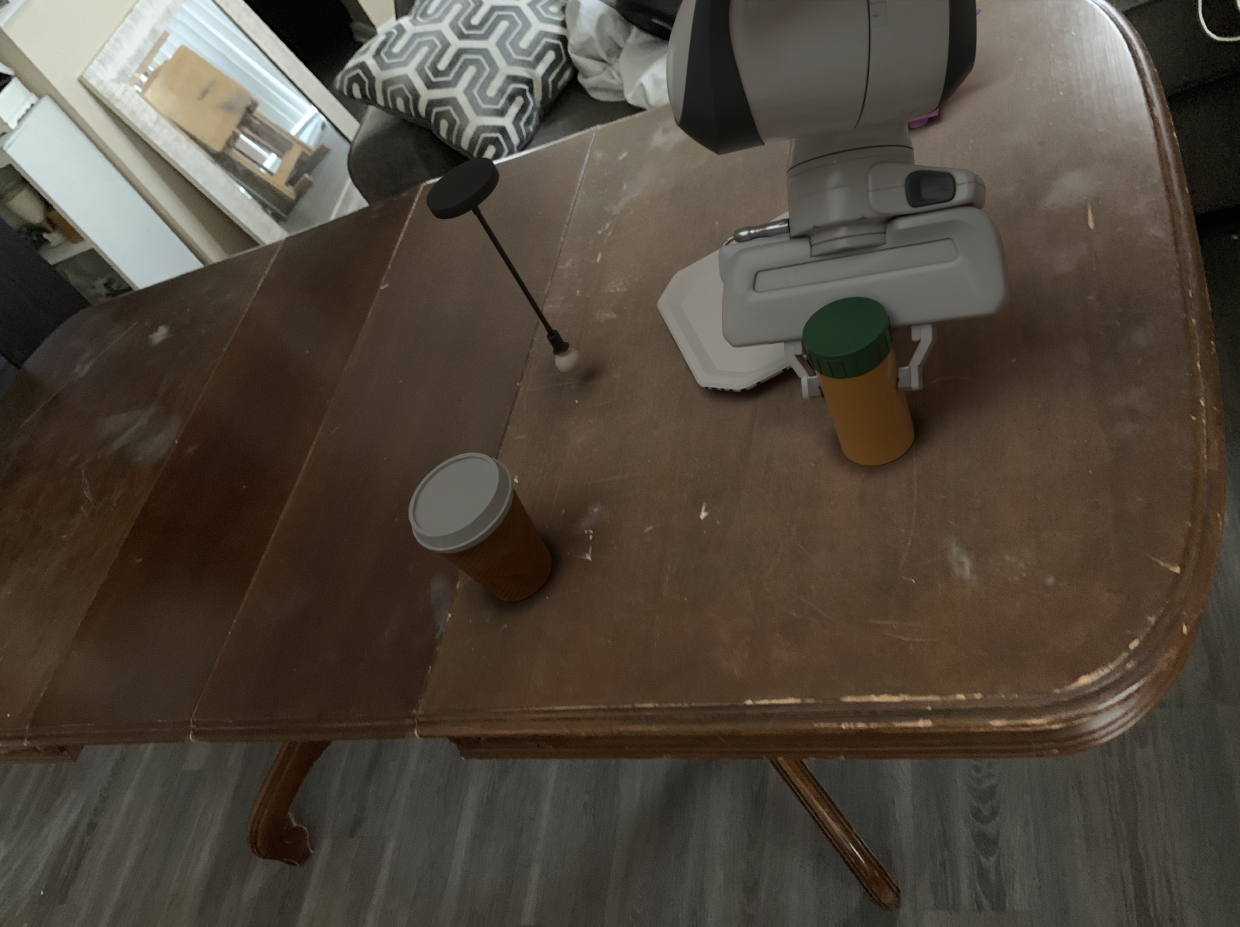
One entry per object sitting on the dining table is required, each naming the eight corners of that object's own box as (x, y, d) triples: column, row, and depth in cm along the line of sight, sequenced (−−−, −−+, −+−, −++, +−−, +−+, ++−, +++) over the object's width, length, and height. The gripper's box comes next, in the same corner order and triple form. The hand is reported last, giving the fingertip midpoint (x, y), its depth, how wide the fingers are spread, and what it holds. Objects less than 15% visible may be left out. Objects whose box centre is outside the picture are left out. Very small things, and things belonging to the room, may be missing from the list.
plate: (936, 309, 77) (932, 289, 75) (716, 420, 81) (709, 404, 80) (836, 203, 91) (831, 185, 90) (654, 303, 96) (646, 287, 94)
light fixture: (545, 384, 96) (418, 192, 79) (597, 349, 95) (481, 148, 78) (565, 417, 91) (436, 220, 74) (621, 381, 91) (503, 173, 73)
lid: (856, 308, 67) (850, 285, 65) (912, 340, 63) (906, 316, 61) (792, 356, 67) (784, 334, 66) (843, 391, 63) (836, 369, 61)
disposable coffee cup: (486, 635, 79) (411, 561, 70) (467, 560, 85) (397, 484, 77) (580, 585, 77) (515, 503, 69) (553, 512, 84) (491, 429, 76)
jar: (882, 401, 74) (851, 292, 66) (930, 434, 70) (904, 322, 62) (827, 442, 74) (789, 338, 66) (872, 477, 70) (838, 371, 62)
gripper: (701, 228, 69) (716, 409, 70) (1000, 167, 58) (1007, 383, 59) (730, 236, 74) (743, 404, 76) (1009, 181, 63) (1016, 379, 65)
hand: (862, 395), depth 67 cm, fingers closed on jar, 5 cm apart
